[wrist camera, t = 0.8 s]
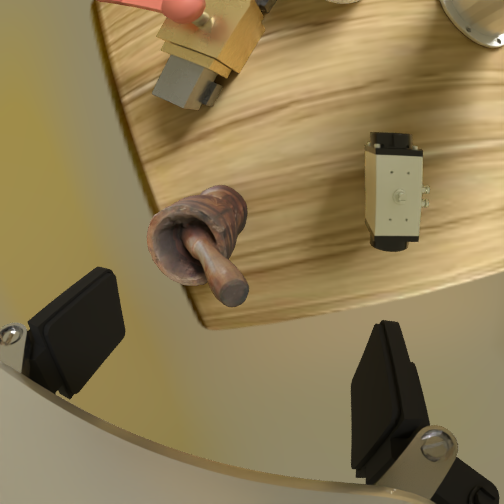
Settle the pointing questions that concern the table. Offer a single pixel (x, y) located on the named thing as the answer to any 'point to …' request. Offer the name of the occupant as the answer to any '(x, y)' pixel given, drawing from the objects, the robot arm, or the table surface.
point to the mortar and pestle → (202, 242)
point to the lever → (168, 8)
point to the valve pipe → (208, 50)
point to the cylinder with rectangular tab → (343, 1)
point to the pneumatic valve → (393, 190)
